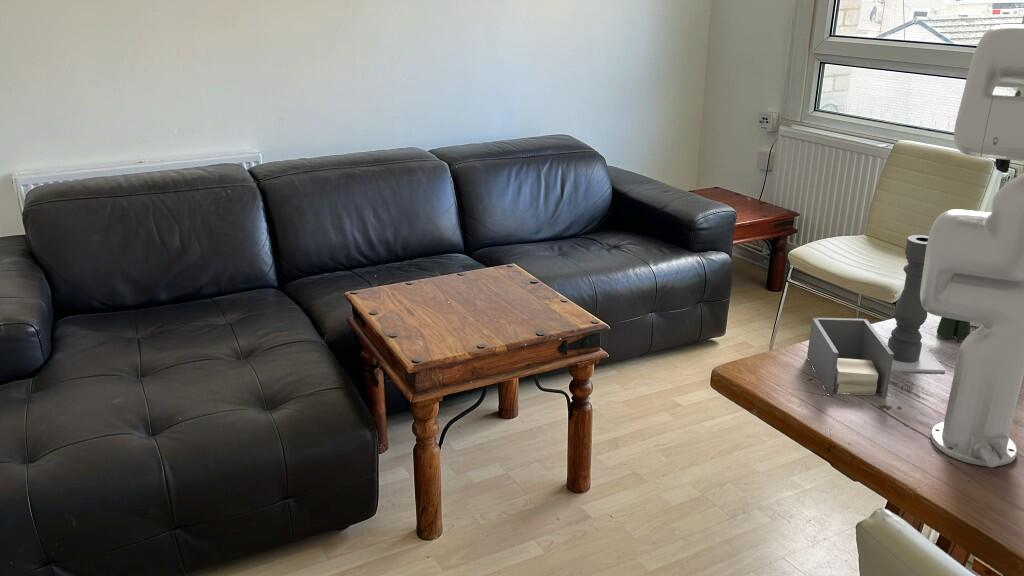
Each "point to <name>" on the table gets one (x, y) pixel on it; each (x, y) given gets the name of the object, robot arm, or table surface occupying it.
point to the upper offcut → (856, 372)
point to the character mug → (953, 329)
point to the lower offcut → (854, 389)
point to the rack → (847, 349)
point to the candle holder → (910, 305)
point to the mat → (919, 363)
